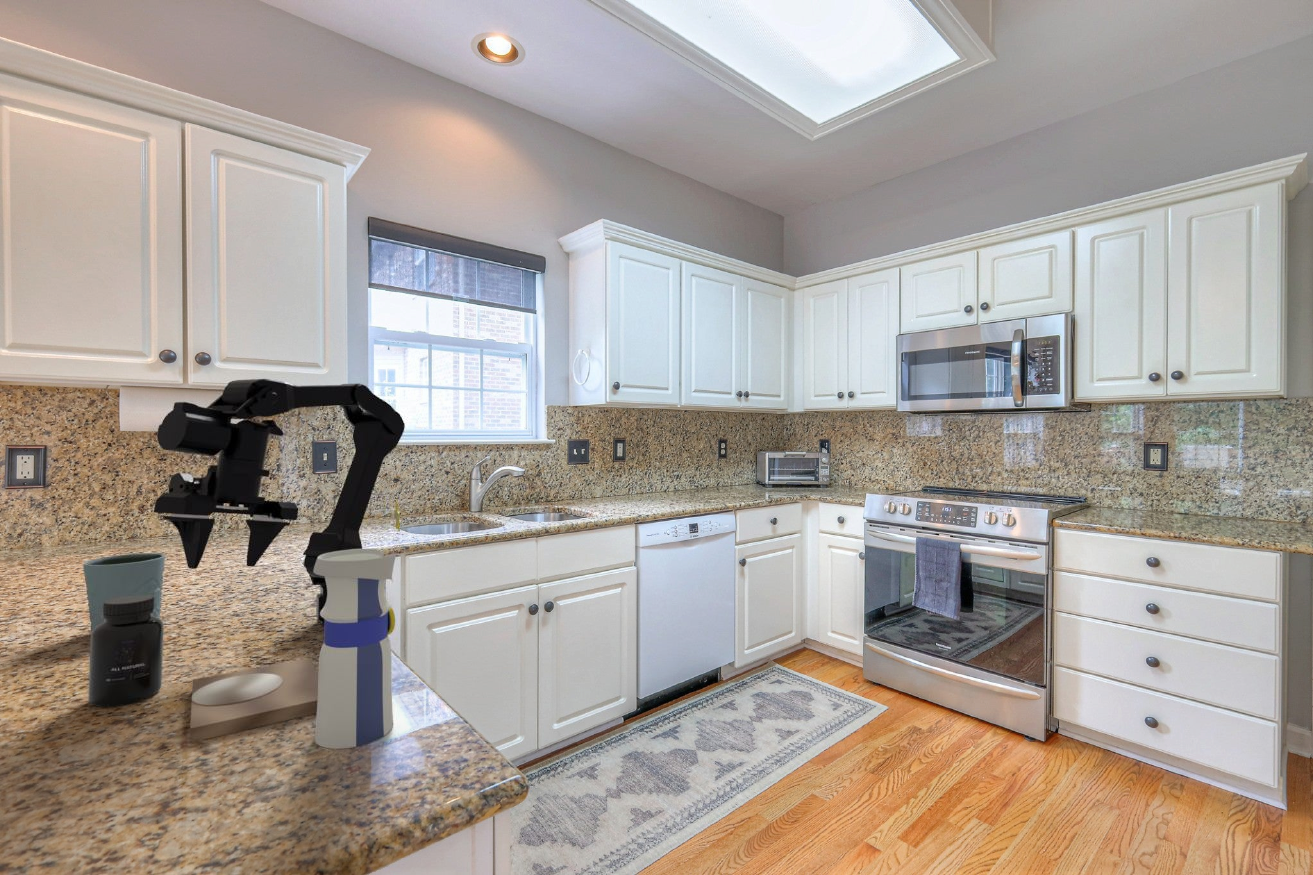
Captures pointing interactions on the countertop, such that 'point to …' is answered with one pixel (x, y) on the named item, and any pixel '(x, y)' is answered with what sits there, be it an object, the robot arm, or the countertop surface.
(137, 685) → the supplement bottle
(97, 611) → the blue-grey cup
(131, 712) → the countertop surface
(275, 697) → the walnut board
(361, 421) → the robot arm
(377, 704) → the water bottle
